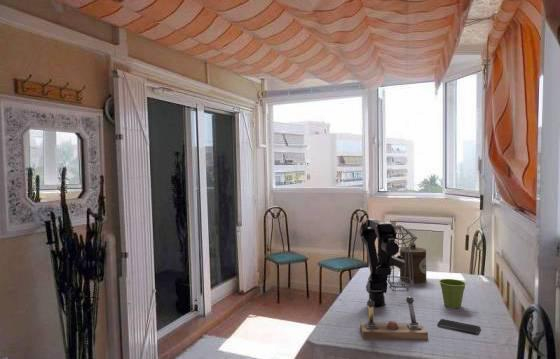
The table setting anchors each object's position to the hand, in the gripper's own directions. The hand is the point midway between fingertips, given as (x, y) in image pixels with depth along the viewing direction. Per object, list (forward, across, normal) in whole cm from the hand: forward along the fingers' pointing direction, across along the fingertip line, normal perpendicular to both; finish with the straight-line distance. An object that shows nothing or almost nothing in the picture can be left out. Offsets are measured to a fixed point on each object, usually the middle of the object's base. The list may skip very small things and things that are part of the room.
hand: (384, 285), depth 167 cm
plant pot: (+13, +20, -30) cm, 38 cm away
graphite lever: (+9, -18, -12) cm, 24 cm away
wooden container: (+14, +62, -12) cm, 64 cm away
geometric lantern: (+13, +40, -5) cm, 43 cm away
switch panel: (+13, -20, -4) cm, 24 cm away
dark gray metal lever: (+9, -23, +4) cm, 25 cm away
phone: (+13, -6, -29) cm, 33 cm away
